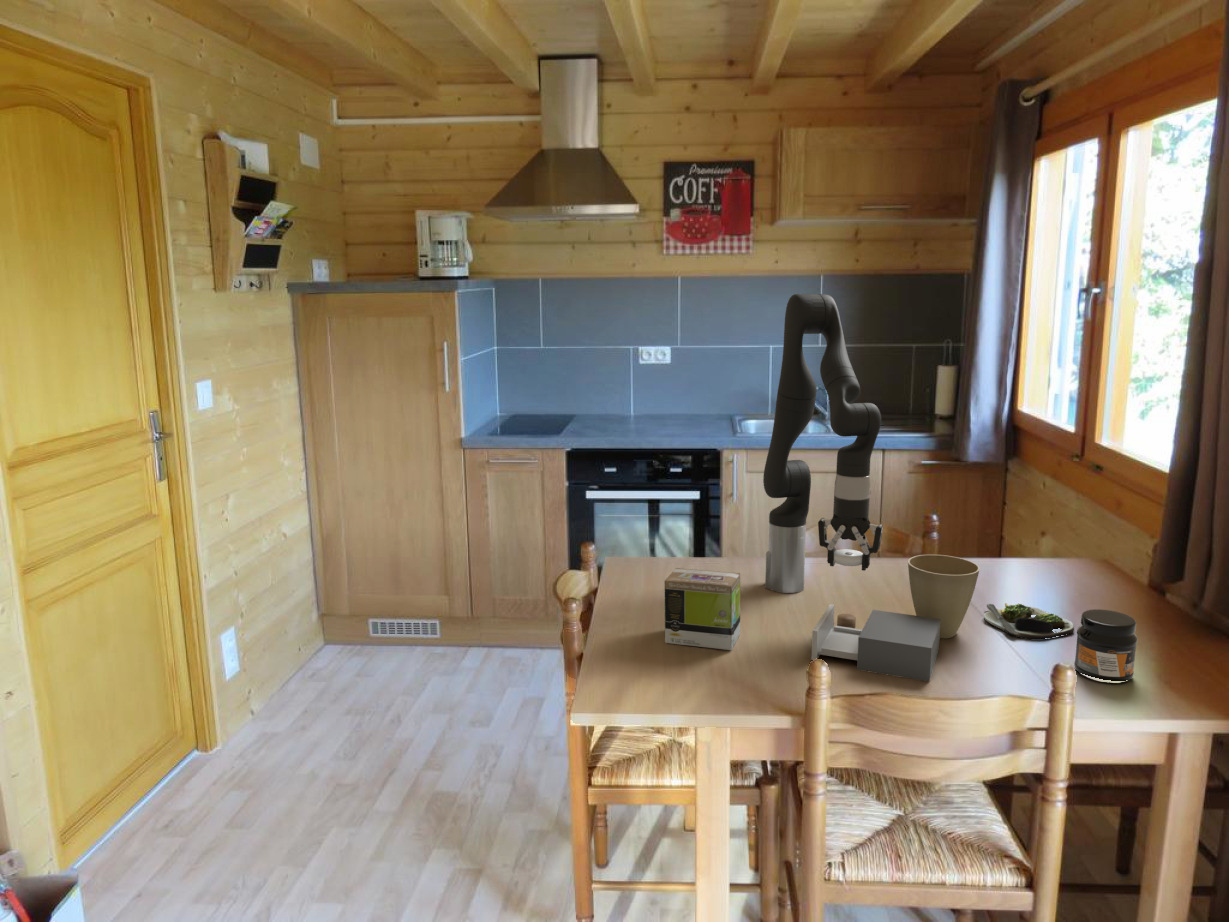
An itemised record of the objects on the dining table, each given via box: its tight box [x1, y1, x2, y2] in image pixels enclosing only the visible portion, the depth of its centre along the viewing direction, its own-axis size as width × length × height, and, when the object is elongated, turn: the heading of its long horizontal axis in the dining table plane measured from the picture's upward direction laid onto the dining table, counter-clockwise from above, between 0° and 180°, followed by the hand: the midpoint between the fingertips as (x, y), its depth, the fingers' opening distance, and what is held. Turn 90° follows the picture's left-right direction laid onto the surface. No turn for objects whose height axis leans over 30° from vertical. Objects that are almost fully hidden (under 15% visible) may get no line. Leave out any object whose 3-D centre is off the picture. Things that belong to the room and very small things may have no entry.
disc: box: [834, 548, 864, 567], centre depth 201 cm, size 6×6×2 cm
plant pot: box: [907, 554, 980, 639], centre depth 202 cm, size 15×15×16 cm
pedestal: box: [836, 613, 857, 629], centre depth 204 cm, size 4×4×4 cm
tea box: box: [664, 567, 741, 651], centre depth 199 cm, size 15×10×15 cm
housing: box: [856, 609, 941, 682], centre depth 188 cm, size 14×17×7 cm
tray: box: [811, 603, 863, 661], centre depth 192 cm, size 14×17×6 cm
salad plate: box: [984, 603, 1075, 640], centre depth 208 cm, size 19×18×5 cm
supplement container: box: [1073, 608, 1138, 681], centre depth 180 cm, size 10×10×12 cm
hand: (848, 567), depth 201 cm, fingers closed on disc, 6 cm apart
